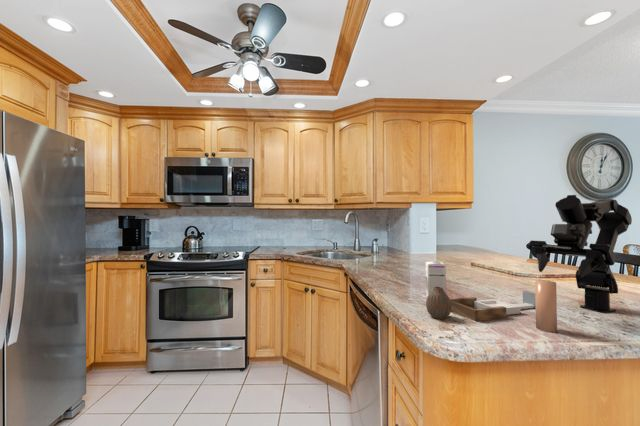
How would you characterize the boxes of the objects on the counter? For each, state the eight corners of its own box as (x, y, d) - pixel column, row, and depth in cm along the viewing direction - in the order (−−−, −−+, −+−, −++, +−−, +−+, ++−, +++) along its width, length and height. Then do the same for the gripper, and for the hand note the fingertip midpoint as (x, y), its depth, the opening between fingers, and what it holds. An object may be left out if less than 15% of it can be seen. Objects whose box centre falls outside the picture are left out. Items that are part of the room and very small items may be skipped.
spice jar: (543, 325, 78) (543, 279, 78) (561, 331, 74) (560, 282, 74) (531, 327, 77) (531, 280, 77) (549, 333, 73) (548, 283, 73)
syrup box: (447, 308, 93) (446, 264, 93) (428, 307, 94) (427, 263, 94) (443, 303, 98) (442, 261, 99) (425, 302, 100) (424, 261, 100)
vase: (451, 315, 86) (451, 286, 87) (451, 322, 80) (451, 291, 80) (427, 312, 89) (426, 284, 90) (425, 318, 83) (425, 288, 83)
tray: (520, 302, 100) (519, 289, 100) (547, 310, 91) (546, 296, 91) (473, 307, 94) (473, 293, 94) (497, 315, 85) (497, 300, 85)
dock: (473, 305, 96) (473, 297, 96) (506, 317, 84) (506, 307, 84) (445, 308, 93) (445, 299, 93) (475, 321, 81) (474, 310, 81)
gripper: (530, 215, 91) (511, 250, 85) (610, 214, 75) (594, 257, 69) (542, 239, 95) (525, 275, 89) (621, 243, 78) (607, 287, 73)
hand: (558, 273), depth 80 cm, fingers open, 9 cm apart
